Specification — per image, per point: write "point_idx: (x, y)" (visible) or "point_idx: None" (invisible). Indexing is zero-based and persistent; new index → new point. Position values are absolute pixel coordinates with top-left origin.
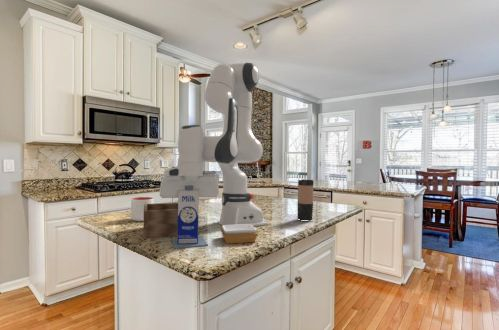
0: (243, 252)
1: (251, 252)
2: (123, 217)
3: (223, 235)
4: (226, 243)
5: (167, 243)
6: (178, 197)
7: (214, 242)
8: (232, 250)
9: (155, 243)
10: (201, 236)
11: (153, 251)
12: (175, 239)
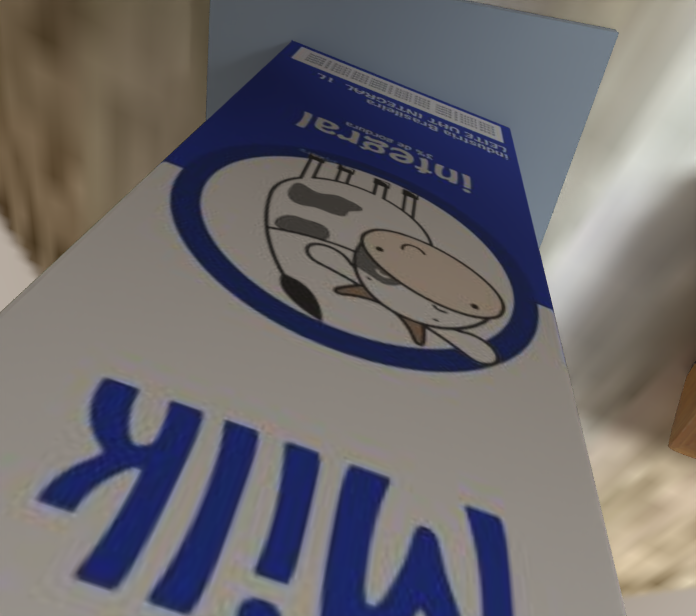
0: (644, 565)
1: (692, 587)
2: None
3: (675, 433)
4: (691, 372)
5: (156, 102)
6: None
7: (614, 292)
8: (606, 510)
9: (31, 41)
10: (592, 67)
11: (36, 271)
12: (245, 52)
